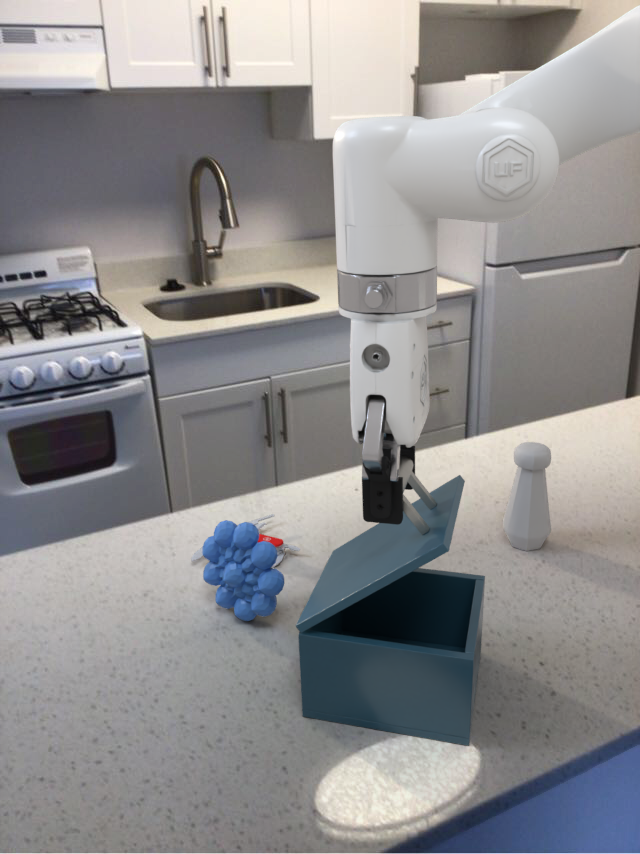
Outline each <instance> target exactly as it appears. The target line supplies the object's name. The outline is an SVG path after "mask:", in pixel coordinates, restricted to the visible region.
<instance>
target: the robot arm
mask: <svg viewBox="0 0 640 854" xmlns="http://www.w3.org/2000/svg"><path fill="white" fill-rule="evenodd" d="M637 134H640V4H638V5H636V6H635V7H633V8H631V9H630V10H629V11H627V12H625V13H623V15H621V16H619V17H618V18H616V19H615V20H613V21H612V22H610V23H609V24H607V25H606V26H605V27H603V28H601V29H600V30H599V31H597V32H596V33H594V34H593V35H591V36H589V37H588V38H586V39H585V40H583V41H582V42H580V43H578V44H576V45H575V46H573V47H572V48H570V49H568V50H567V51H565V52H563V53H562V54H560V55H558V56H556V57H554V58H553V59H551V60H550V61H547V62H546V63H544V64H543V65H541V66H540V67H538V68H536V69H534V70H532V71H531V72H529V73H527V74H525V75H524V76H522V77H520V78H518V79H517V80H515V81H513V82H512V83H510V84H508V85H507V86H505V87H503V88H502V89H500V90H498V91H497V92H495V93H493V94H491V95H489V96H488V97H486V98H485V99H483V100H482V101H479V102H478V103H476V104H474V105H472V106H471V107H469V108H468V109H466V110H464V111H463V112H461V113H460V114H457V115H453V116H447V117H445V116H444V117H438V118H430V119H429V118H426V117H423V116H419V115H418V116H416V115H393V116H392V115H391V116H374V117H363V118H354V119H350V120H346V121H345V122H342V123H341V124H340V125H339V126H338V127H337V129H336V131H335V132H334V135H333V139H332V169H333V170H332V171H333V196H334V197H333V198H334V217H335V218H334V222H335V223H334V224H335V225H334V226H335V251H336V268H337V269H336V278H337V306H338V307H337V308H338V313H339V315H340V316H342V317H344V318H347V319H350V339H349V398H350V399H349V400H350V401H349V403H350V424H351V434H352V439H353V440H354V442H355V443H357V444H358V445H362V444H363V445H362V451H361V452H362V453H361V461H362V465H361V467H362V468H361V496H362V519H363V520H364V522H367V523H375V524H379V523H385V524H396V525H398V524H401V523H402V520H403V494H404V493H403V477H399V463H400V455H405V456H408V457H409V458H410V459H411V460H412V461H413V469H412V472H413V473H414V474H415V475H416V446H415V445H416V443H417V442H418V440H419V438H420V436H421V434H422V432H423V429H424V427H425V424H426V421H427V419H428V416H429V412H430V405H431V398H430V396H431V395H430V372H429V371H430V369H429V368H430V367H429V366H430V365H429V338H428V320H427V317H428V316H430V315H433V314H435V313H436V311H437V309H438V308H437V307H438V306H437V305H438V303H437V302H438V225H439V224H438V221H439V220H438V219H444V220H447V219H448V220H458V221H469V222H475V223H476V222H477V223H489V224H494V223H495V224H496V223H498V224H499V223H506V222H512V221H515V220H517V219H520V218H522V217H525V216H526V215H529V214H530V213H531V212H533V211H534V210H535V209H537V208H538V207H539V206H541V204H542V203H543V202H544V201H545V200H546V199H547V197H548V196H549V195H550V194H551V192H552V190H553V188H554V186H555V183H556V181H557V178H558V174H559V170H560V169H559V168H560V166H561V165H563V164H565V163H567V162H569V161H571V160H572V159H573V160H574V159H575V158H577V157H578V156H581V155H583V154H585V153H587V152H589V151H592V150H594V149H596V148H599V147H602V146H603V145H606V144H608V143H611V142H615V141H616V140H620V139H623V138H626V137H630V136H633V135H637ZM406 490H407V491H413V490H414V489H413V488H412V487H411V485H410V484H409V483H408V482H407V485H406V487H405V491H406Z"/></svg>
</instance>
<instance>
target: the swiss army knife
mask: <svg viewBox="0 0 640 854" xmlns="http://www.w3.org/2000/svg"><path fill="white" fill-rule="evenodd" d="M274 517H275V514H274V513H272V514H269V515H266V516H265V515H264V516H262V517H259V518H256V519H253V520H250V521H249V520H248V521H247V522H248V523H252V524H254V525H255V526H256V527H257V528H258V530H261V529H262V528H263V527H265V526H267V525H268V524H267V523H266V522H262V521H265V520H268V519H271V518H274ZM236 525H237V526H238V525H239V524H236ZM262 541H266V542H270V543H272V544H273V545H274V546H275V547H276V549H277V560H276V563H275V564H274V565H273V566H272V567H271V568H274V567H276V566H278V565H279V564H280V563H282V561H283V560H284V558H285V555H286V552H285V549H289V550H291V551H293V552H294V551H295V552H300V551H301V548H300V547H299V546H296V545H293V544H290V543H289V544H288V543H285V542H284V539H282V538H278V537H275V536H271V535H266V534H261V533H259V540H258V543H259V542H262ZM202 547H203V546H201V547H200V548H198V550H196V551H195V552H194V553H193V554H192V556H191V558H190V559H191V562H194V561H198V560H199V559H201V558H202V557H204V556H203V554H202Z"/></svg>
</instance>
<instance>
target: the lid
mask: <svg viewBox="0 0 640 854" xmlns="http://www.w3.org/2000/svg"><path fill="white" fill-rule="evenodd" d="M412 469H413V461H412V460H411V459H410V458H409V457H408V456H405V455H400V463H399V477H403V520H402V523H401V524H398V525H396V524H385V523H376V524H375V525H374V526H372V527H370V528H368V529H367V530H365V531H364V532H362V533H360V534H359V535H357V536H355V537H354V538H352V539H350V540H348V541H347V542H345V543H344V544H342V545H340V546H339V547H337V548H334V549H333V550H332V552H331V554H330V556H329V558H328V560H327V562H326V564H325V566H324V568H323V570H322V571H321V574H320V576H319V578H318V580H317V582H316V584H315V586H314V588H313V590H312V592H311V594H310V596H309V598H308V600H307V602H306V604H305V606H304V608H303V610H302V612H301V614H300V616H299V618H298V620H297V622H296V624H295V628H296V629H297V630H298V632H303V631H305V630H307V629H309V628H311V627H312V626H314V625H316V624H318V623H320V622H321V621H323V620H325V619H327V618H329V617H331V616H332V615H334V614H336V613H338V612H340V611H341V610H343V609H345V608H347V607H349V606H350V605H352V604H354V603H356V602H358V601H360V600H361V599H363V598H365V597H367V596H369V595H370V594H372V593H374V592H376V591H378V590H379V589H381V588H383V587H385V586H387V585H389V584H390V583H392V582H394V581H396V580H398V579H399V578H401V577H403V576H405V575H407V574H408V573H410V572H412V571H414V570H416V569H418V568H422V567H423V566H425V565H427V564H428V563H430V562H432V561H433V560H436V559H438V558H439V557H442V556H443V555H445V554H446V553H449V552H450V548H451V544H452V539H453V535H454V530H455V526H456V522H457V518H458V514H459V508H460V504H461V501H462V500H461V499H462V496H463V492H464V487H465V482H466V480H465V479H464V478H463V477H462V476H461V474H458V475H457V476H455V477H453V478H451V479H450V480H448V481H447V482H445V483H443V484H442V485H440V486H438V487H436V488H435V489H434V490H432V491H430V492H429V491H428V489H427V488H426V487H425V486H424V484H423V483H422V481H420V479H419V478H418V476H416V473H415V474H414V473H413V472H412ZM407 482H408V483H409V484H410V485H411V487H412V488H413V489H412V490H413V491H414V492H415V494H417V496H418V497H419V498H418V499H417V500H415V501H414V502H412V503H411V502H410V501H409V499H408V498H407V497H406V495H405V494H404V492H405V491H406V489H405V487H406V485H407Z"/></svg>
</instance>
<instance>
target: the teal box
mask: <svg viewBox="0 0 640 854" xmlns="http://www.w3.org/2000/svg"><path fill="white" fill-rule="evenodd" d="M485 584H486V575H482V574H474V573H465V572H457V571H448V570H440V569H432V568H425V567H423V568H422V567H419V568H418V569H416V570H414V571H412V572H410V573H408V574H407V575H405V576H403V577H401V578H399V579H398V580H396V581H394V582H392V583H390V584H389V585H387V586H385V587H383V588H381V589H379V590H378V591H376V592H374V593H372V594H370V595H369V596H367V597H365V598H363V599H361V600H360V601H358V602H356V603H354V604H352V605H350V606H349V607H347V608H345V609H343V610H341V611H340V612H338V613H336V614H334V615H332V616H331V617H329V618H327V619H325V620H323V621H321V622H320V623H318V624H316V625H314V626H312V627H311V628H309V629H307V630H305V631H303V632H300V631H298V634H297V635H298V654H299V655H298V656H299V674H300V691H301V692H300V695H301V713H302V715H301V716H302V717H303V718H309V719H313V720H314V719H315V720H321V721H325V722H332V723H338V724H343V725H349V726H355V727H359V728H366V729H371V730H377V731H383V732H388V733H393V734H400V735H405V736H410V737H411V736H412V737H417V738H423V739H428V740H434V741H440V742H445V743H451V744H456V745H462V746H467V747H468V746H469V747H470V743H471V736H472V735H471V734H472V726H473V718H474V711H475V704H476V703H475V701H476V696H477V695H476V694H477V687H478V678H479V670H480V662H481V655H482V640H483V624H484V623H483V621H484V603H485V602H484V601H485V586H486V585H485Z"/></svg>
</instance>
